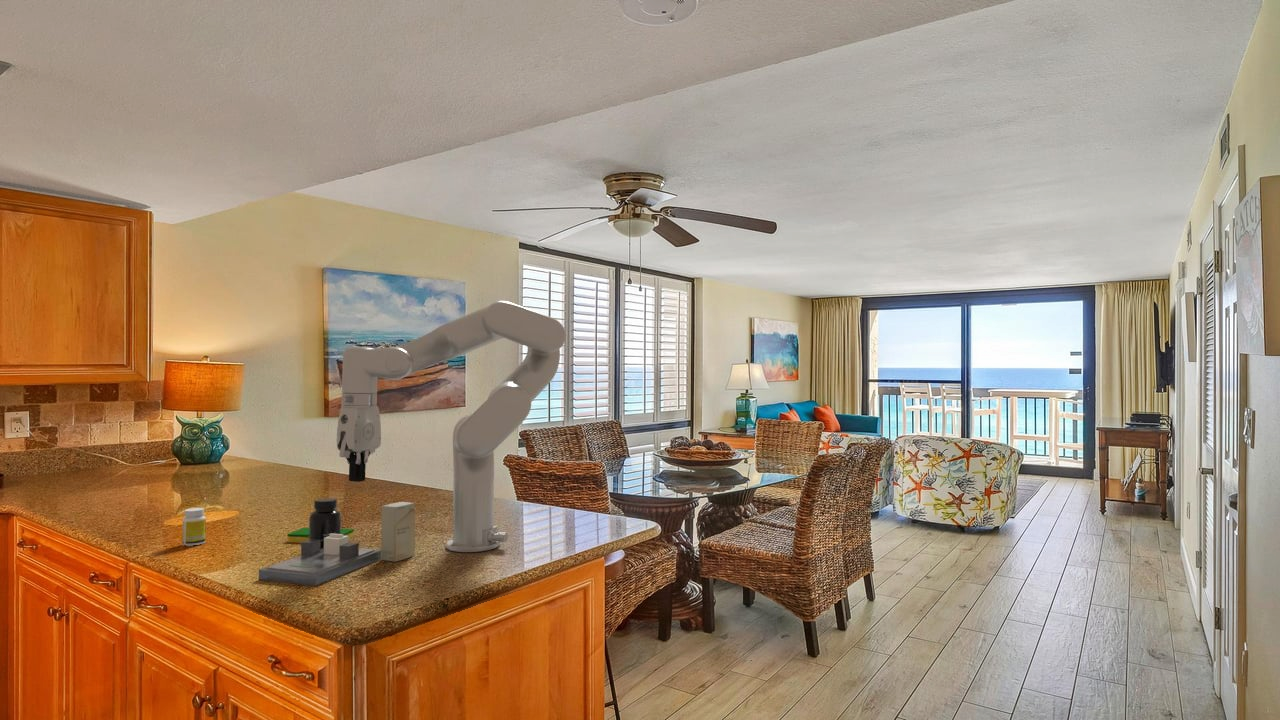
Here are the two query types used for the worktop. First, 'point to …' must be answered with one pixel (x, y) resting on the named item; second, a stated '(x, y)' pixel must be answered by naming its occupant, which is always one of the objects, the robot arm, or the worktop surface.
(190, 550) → the worktop surface
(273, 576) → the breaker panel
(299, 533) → the dish sponge
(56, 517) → the worktop surface
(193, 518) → the supplement bottle
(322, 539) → the supplement bottle
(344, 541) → the block
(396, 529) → the skincare box
